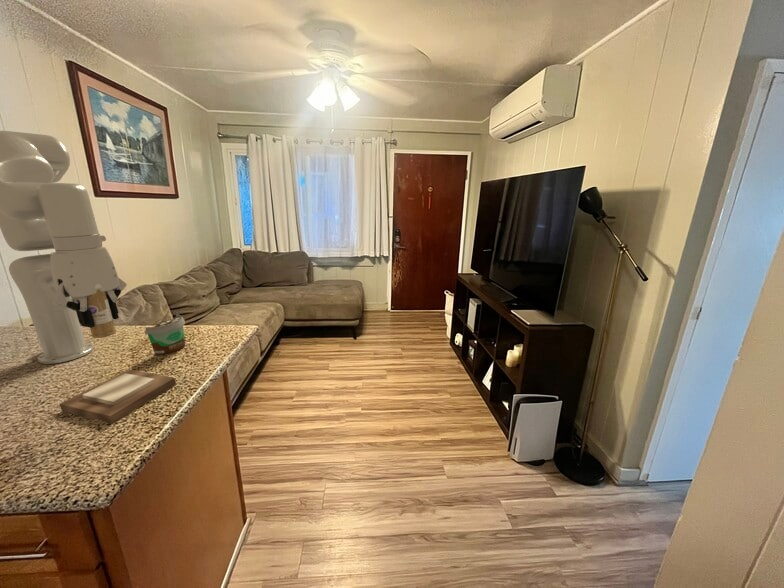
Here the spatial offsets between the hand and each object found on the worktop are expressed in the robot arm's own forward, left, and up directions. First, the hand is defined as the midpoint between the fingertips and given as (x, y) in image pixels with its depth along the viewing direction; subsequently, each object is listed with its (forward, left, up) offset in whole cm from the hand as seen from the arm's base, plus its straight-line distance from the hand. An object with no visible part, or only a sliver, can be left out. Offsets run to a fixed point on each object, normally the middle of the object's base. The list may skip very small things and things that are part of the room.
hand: (100, 321), depth 75 cm
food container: (-10, +24, -21) cm, 33 cm away
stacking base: (0, 0, -20) cm, 20 cm away
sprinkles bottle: (0, 0, -4) cm, 4 cm away
